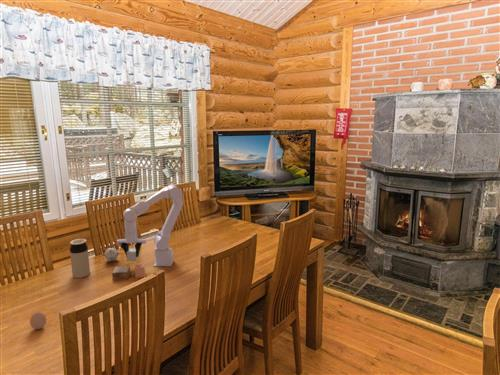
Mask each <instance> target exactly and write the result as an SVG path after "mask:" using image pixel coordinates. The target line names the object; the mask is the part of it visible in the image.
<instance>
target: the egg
mask: <svg viewBox="0 0 500 375" xmlns="http://www.w3.org/2000/svg"><path fill="white" fill-rule="evenodd" d="M46 323H47V316H46V314H45V313H44V312H42V311H40V310H39V311H37V310H36V311H35V312H34V313H33V314H31V317H30V320H29V324H30V327H31V328H32V329H34V330H40V329H42V328H44V327H45V325H46Z"/></svg>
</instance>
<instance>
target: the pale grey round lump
mask: <svg viewBox="0 0 500 375" xmlns="http://www.w3.org/2000/svg"><path fill="white" fill-rule="evenodd" d="M105 248H106V249H105V252H104V254H103V255H102V256H104V258H105V260H106V263H108V262H112V261H113V262H114V261H115V262H118V260H117V258H118V256H119V255H120V252H118V250H117V246H115V247H109V248H107V247H105Z"/></svg>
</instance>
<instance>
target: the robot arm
mask: <svg viewBox="0 0 500 375" xmlns="http://www.w3.org/2000/svg"><path fill="white" fill-rule="evenodd" d="M162 199H171V201H172V205H171V208H170V209H169V210H170V211H169V212H168V215H167V217H166V219H165V222H164V224H163V225H162V227H161V229H160V230H159V232H158V234H156V235H155V236H154V238H153V240H154V241H153V242H154V243H155V247H154V256H155V259H154V260H155V263H154V264H153V267H172V265H173V263H174V262H175V261H174V249H173V247H169V246H170V239H171V232H172V231H173V229H174V226H175V224H176V221H177V219H178V217H179V214H180V212H181V210H182V209H183V206H184V198H183V192H182V190H181V189H180V187H178V186H177V185H176V184H174V183H173V184H172V183H171V184H168V185H167V186H165V187H163V188H162V189H159V191H157V192H156V193H154V194H153V195H152V196H151V197H149V198H148V199H146V200H144V199H142V200H139V201H137V203H136V204H134V205H133V206H129V208H126V209H125V210H123V213H122V216H123V218H124V234H125V235H124V237H125V238H122V239H121V238H118V239H117V240H116V244H117V245H120V244H121V245H120V247H121V248H122V250H123V252H124V254H125V256H126V258H127V251H128V250H129V249H130V246H129V245H130V244H135V245H134V249H136V257H138V258H139V256H140V251H141V247H142V245H143V244H144V245H146V244H147V239H146V238H139V237H138V232H137V222H136V219H137V217H139V216H141V215H142V214H144V213H145V212H147V211H148V210H149V208H150V206H152V205H153V204H155V203H157V202H158V201H161V200H162Z"/></svg>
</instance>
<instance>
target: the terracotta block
mask: <svg viewBox="0 0 500 375" xmlns="http://www.w3.org/2000/svg"><path fill="white" fill-rule="evenodd" d="M134 275H135V279H136V278H144V277H146V268H145V263H140V264H135V265H134Z"/></svg>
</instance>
